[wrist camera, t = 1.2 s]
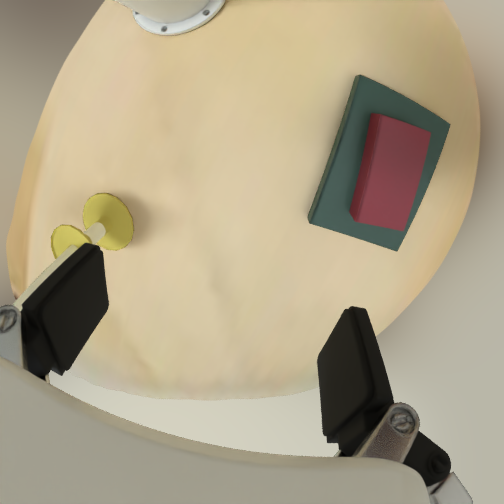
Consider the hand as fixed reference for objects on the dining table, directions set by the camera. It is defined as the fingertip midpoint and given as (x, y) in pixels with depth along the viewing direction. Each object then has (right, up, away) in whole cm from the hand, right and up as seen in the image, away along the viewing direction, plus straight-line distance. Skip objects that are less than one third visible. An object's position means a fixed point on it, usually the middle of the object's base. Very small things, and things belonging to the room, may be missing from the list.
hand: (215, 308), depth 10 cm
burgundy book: (+18, +12, +20) cm, 29 cm away
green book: (+18, +13, +22) cm, 31 cm away
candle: (-22, +7, +29) cm, 37 cm away
